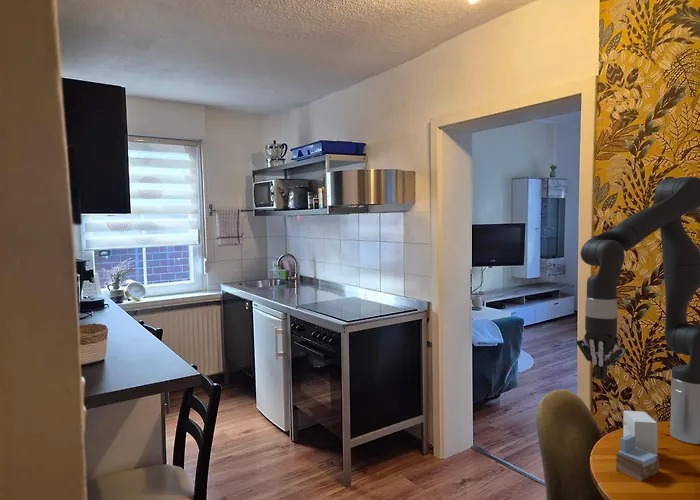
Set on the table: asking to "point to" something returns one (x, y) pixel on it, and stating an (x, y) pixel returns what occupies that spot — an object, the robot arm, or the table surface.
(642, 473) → the case
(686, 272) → the robot arm
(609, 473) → the table surface
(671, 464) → the table surface
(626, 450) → the lid
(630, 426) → the small box
